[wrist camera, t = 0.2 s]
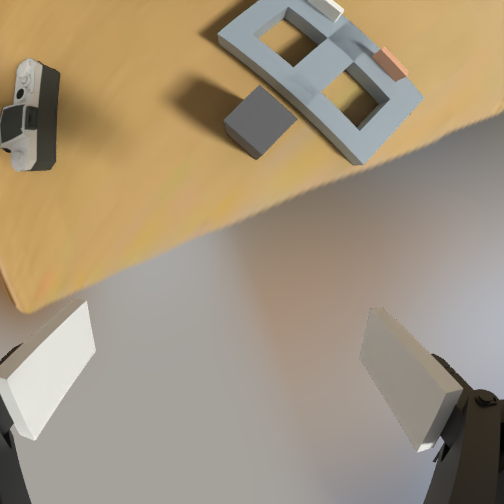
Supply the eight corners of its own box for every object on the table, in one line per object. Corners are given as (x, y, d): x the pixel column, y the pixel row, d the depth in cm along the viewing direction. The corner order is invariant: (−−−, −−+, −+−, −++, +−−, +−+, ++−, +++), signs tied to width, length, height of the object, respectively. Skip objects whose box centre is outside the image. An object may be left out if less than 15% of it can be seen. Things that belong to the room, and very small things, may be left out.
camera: (25, 79, 33) (-13, 66, 23) (67, 65, 33) (31, 45, 23) (20, 175, 36) (-22, 179, 27) (62, 167, 37) (21, 168, 27)
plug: (226, 134, 37) (223, 120, 27) (253, 106, 36) (259, 84, 27) (256, 160, 38) (262, 155, 28) (282, 132, 37) (297, 118, 28)
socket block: (218, 45, 34) (215, 22, 27) (288, -9, 32) (296, -35, 25) (352, 165, 39) (373, 164, 32) (409, 102, 37) (436, 93, 30)
